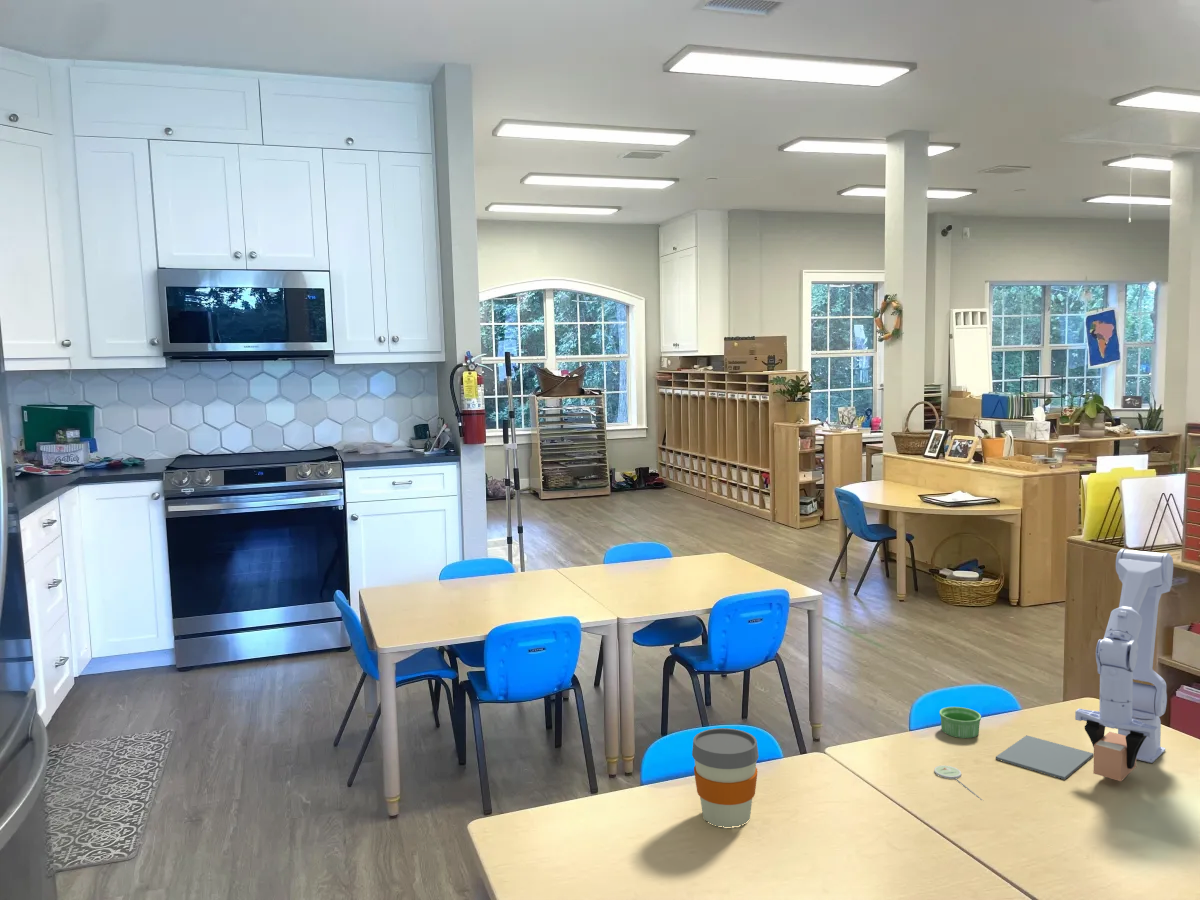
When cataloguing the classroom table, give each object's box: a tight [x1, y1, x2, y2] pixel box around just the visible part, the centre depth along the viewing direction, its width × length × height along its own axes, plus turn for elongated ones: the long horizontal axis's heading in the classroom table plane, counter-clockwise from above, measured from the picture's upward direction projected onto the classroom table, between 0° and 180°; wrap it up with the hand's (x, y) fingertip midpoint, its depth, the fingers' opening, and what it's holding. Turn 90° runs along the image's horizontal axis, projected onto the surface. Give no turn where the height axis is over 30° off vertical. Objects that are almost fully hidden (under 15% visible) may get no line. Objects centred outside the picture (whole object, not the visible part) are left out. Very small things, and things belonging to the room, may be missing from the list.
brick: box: [1093, 731, 1137, 782], centre depth 176 cm, size 9×5×6 cm, turn 132°
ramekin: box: [939, 706, 982, 739], centre depth 202 cm, size 9×9×4 cm
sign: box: [934, 765, 983, 801], centre depth 177 cm, size 5×1×15 cm
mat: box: [995, 735, 1094, 780], centre depth 187 cm, size 16×14×1 cm
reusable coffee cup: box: [691, 727, 760, 827], centre depth 166 cm, size 13×13×15 cm
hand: (1115, 762), depth 176 cm, fingers closed on brick, 5 cm apart
